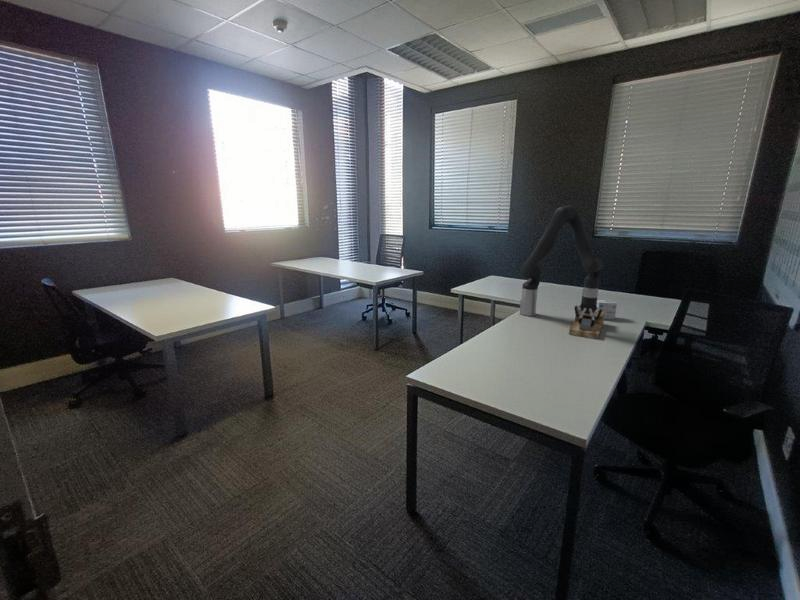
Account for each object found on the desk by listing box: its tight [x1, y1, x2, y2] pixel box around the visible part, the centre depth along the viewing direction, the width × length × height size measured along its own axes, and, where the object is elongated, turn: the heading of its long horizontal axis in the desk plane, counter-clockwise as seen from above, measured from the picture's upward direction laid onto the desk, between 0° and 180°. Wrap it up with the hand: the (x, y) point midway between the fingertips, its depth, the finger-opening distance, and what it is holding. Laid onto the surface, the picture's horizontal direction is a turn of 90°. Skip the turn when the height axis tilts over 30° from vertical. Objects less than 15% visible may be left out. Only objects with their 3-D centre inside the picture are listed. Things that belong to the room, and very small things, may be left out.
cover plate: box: [579, 318, 592, 331], centre depth 202 cm, size 5×14×3 cm, turn 147°
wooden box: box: [568, 308, 605, 340], centre depth 207 cm, size 14×30×7 cm, turn 147°
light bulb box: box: [596, 299, 618, 320], centre depth 226 cm, size 11×7×11 cm, turn 84°
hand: (586, 325), depth 202 cm, fingers closed on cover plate, 5 cm apart
